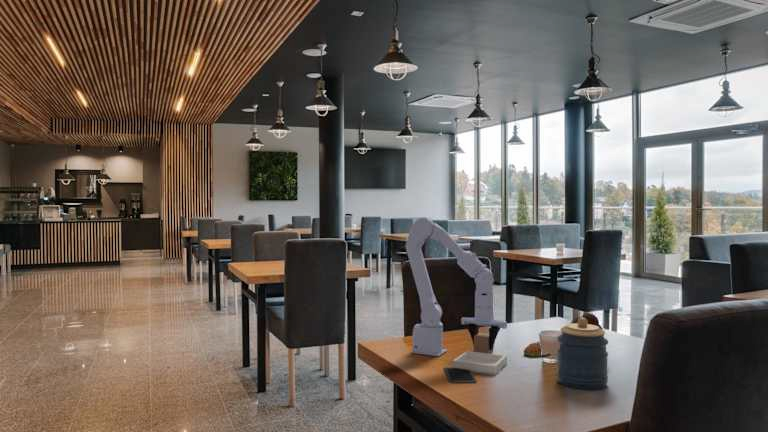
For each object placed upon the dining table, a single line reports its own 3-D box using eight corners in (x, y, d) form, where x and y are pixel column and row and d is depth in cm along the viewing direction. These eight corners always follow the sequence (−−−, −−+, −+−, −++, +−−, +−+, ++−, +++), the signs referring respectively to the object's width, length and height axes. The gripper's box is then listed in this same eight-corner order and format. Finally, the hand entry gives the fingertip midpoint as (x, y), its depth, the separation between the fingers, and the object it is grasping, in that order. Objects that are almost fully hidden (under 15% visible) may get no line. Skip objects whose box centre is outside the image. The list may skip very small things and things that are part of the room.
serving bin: (453, 368, 161) (453, 360, 161) (467, 358, 172) (467, 350, 172) (495, 375, 155) (495, 366, 155) (506, 364, 167) (506, 355, 167)
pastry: (536, 359, 173) (536, 347, 173) (518, 355, 178) (518, 343, 178) (552, 354, 179) (552, 342, 179) (534, 350, 184) (534, 339, 184)
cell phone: (468, 369, 162) (468, 367, 162) (477, 384, 148) (477, 381, 148) (443, 369, 162) (443, 367, 162) (450, 384, 148) (450, 381, 148)
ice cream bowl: (605, 358, 173) (605, 311, 173) (603, 368, 163) (603, 317, 163) (569, 355, 178) (570, 308, 177) (565, 363, 167) (565, 314, 167)
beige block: (473, 354, 175) (474, 336, 175) (479, 350, 181) (479, 332, 181) (487, 356, 173) (487, 337, 173) (493, 352, 179) (493, 333, 178)
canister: (602, 394, 140) (603, 324, 140) (551, 385, 147) (551, 319, 147) (611, 380, 151) (612, 316, 151) (563, 373, 158) (564, 311, 158)
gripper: (458, 306, 177) (457, 348, 177) (502, 310, 170) (502, 354, 170) (465, 303, 183) (465, 343, 183) (508, 306, 176) (508, 349, 176)
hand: (483, 348), depth 177 cm, fingers closed on beige block, 4 cm apart
